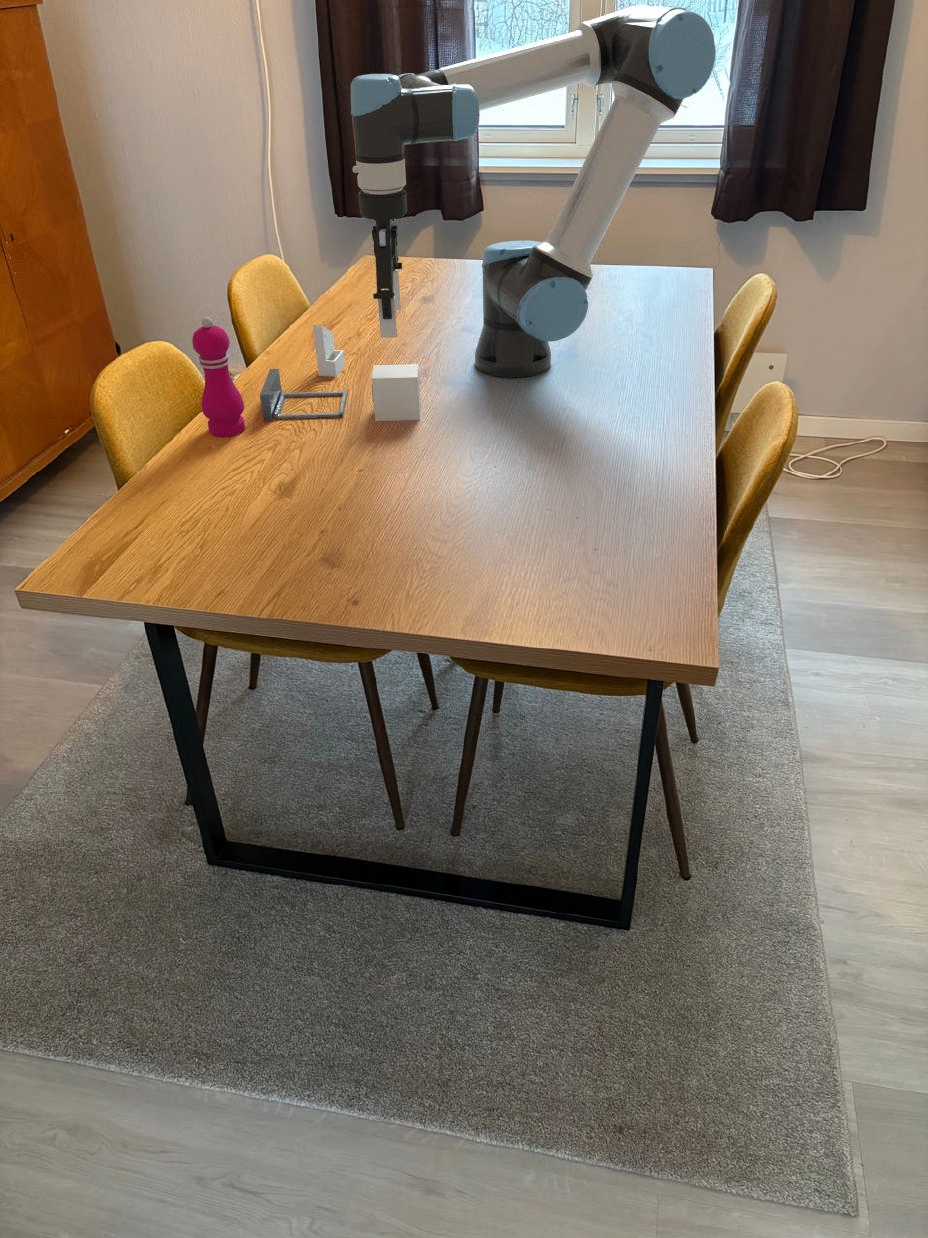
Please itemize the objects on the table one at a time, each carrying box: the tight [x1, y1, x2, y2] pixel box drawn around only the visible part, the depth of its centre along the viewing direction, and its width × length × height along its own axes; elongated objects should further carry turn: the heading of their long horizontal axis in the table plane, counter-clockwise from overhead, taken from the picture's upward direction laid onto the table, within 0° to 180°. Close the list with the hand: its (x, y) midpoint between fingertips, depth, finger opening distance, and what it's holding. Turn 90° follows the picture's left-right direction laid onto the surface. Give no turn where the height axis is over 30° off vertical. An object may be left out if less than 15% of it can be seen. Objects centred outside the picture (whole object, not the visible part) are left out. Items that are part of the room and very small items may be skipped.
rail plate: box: [259, 368, 349, 422], centre depth 171 cm, size 14×12×5 cm
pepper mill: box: [191, 316, 246, 438], centre depth 160 cm, size 7×7×20 cm
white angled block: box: [312, 325, 346, 378], centre depth 184 cm, size 4×10×9 cm, turn 168°
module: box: [371, 363, 422, 422], centre depth 167 cm, size 8×6×8 cm
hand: (391, 322), depth 160 cm, fingers open, 13 cm apart
